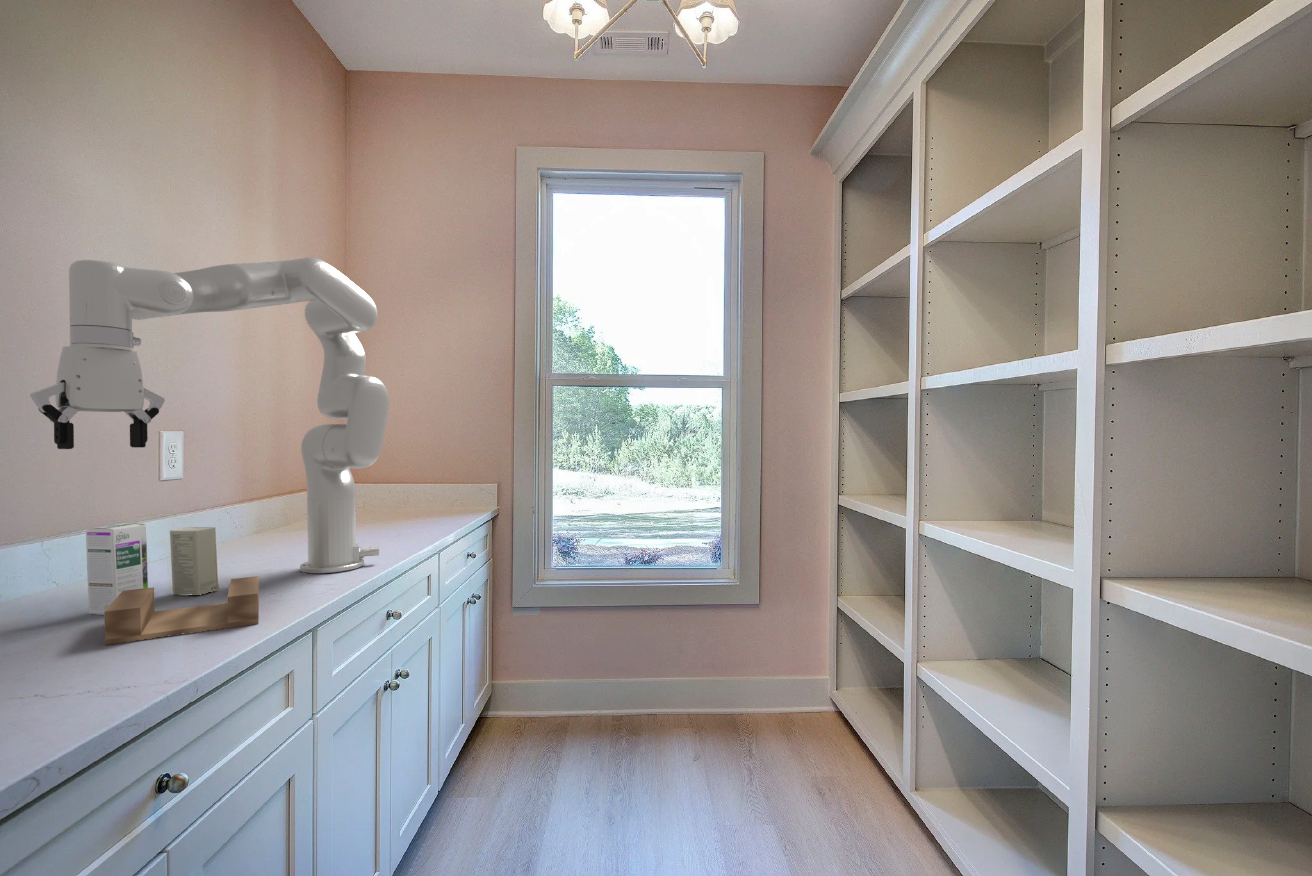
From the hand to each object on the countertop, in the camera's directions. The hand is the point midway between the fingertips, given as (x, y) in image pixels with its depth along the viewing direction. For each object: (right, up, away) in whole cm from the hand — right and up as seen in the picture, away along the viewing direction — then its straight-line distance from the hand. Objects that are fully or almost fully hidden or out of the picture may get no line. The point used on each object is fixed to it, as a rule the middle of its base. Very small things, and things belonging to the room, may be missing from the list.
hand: (103, 448), depth 102 cm
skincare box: (+2, -28, +18) cm, 33 cm away
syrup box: (-3, -28, +7) cm, 29 cm away
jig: (+14, -28, 0) cm, 31 cm away
